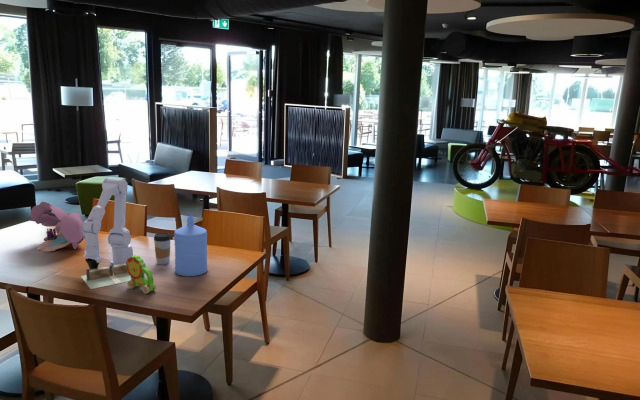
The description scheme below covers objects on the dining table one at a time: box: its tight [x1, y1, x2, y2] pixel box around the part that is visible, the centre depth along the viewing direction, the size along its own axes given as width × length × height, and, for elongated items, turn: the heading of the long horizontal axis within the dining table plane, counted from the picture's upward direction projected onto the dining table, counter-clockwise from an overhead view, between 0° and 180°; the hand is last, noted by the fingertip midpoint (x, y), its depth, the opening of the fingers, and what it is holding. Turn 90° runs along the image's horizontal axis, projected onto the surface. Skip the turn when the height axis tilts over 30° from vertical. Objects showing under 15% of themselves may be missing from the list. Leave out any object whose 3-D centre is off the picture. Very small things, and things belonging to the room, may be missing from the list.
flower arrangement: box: [30, 201, 85, 252], centre depth 266 cm, size 35×24×28 cm
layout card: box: [80, 269, 131, 290], centre depth 230 cm, size 24×18×1 cm
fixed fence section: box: [109, 263, 128, 276], centre depth 234 cm, size 12×2×5 cm, turn 129°
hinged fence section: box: [85, 266, 110, 280], centre depth 227 cm, size 10×2×5 cm, turn 129°
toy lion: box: [126, 254, 157, 295], centre depth 217 cm, size 16×5×15 cm, turn 58°
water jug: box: [173, 215, 208, 277], centre depth 239 cm, size 16×16×28 cm
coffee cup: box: [153, 232, 172, 265], centre depth 250 cm, size 8×8×15 cm
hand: (93, 273), depth 229 cm, fingers closed
